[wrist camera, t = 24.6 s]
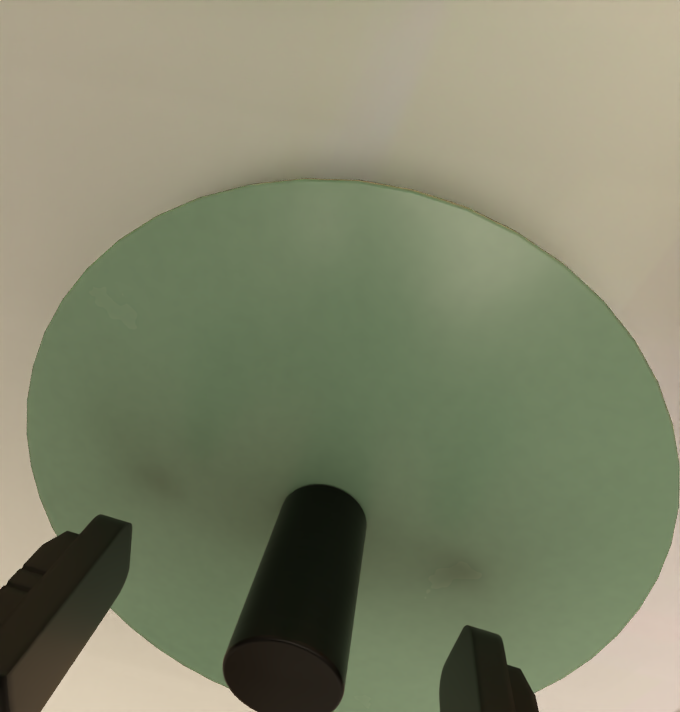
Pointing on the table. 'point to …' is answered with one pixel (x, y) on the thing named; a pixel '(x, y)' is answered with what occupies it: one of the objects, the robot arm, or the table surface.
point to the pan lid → (354, 443)
